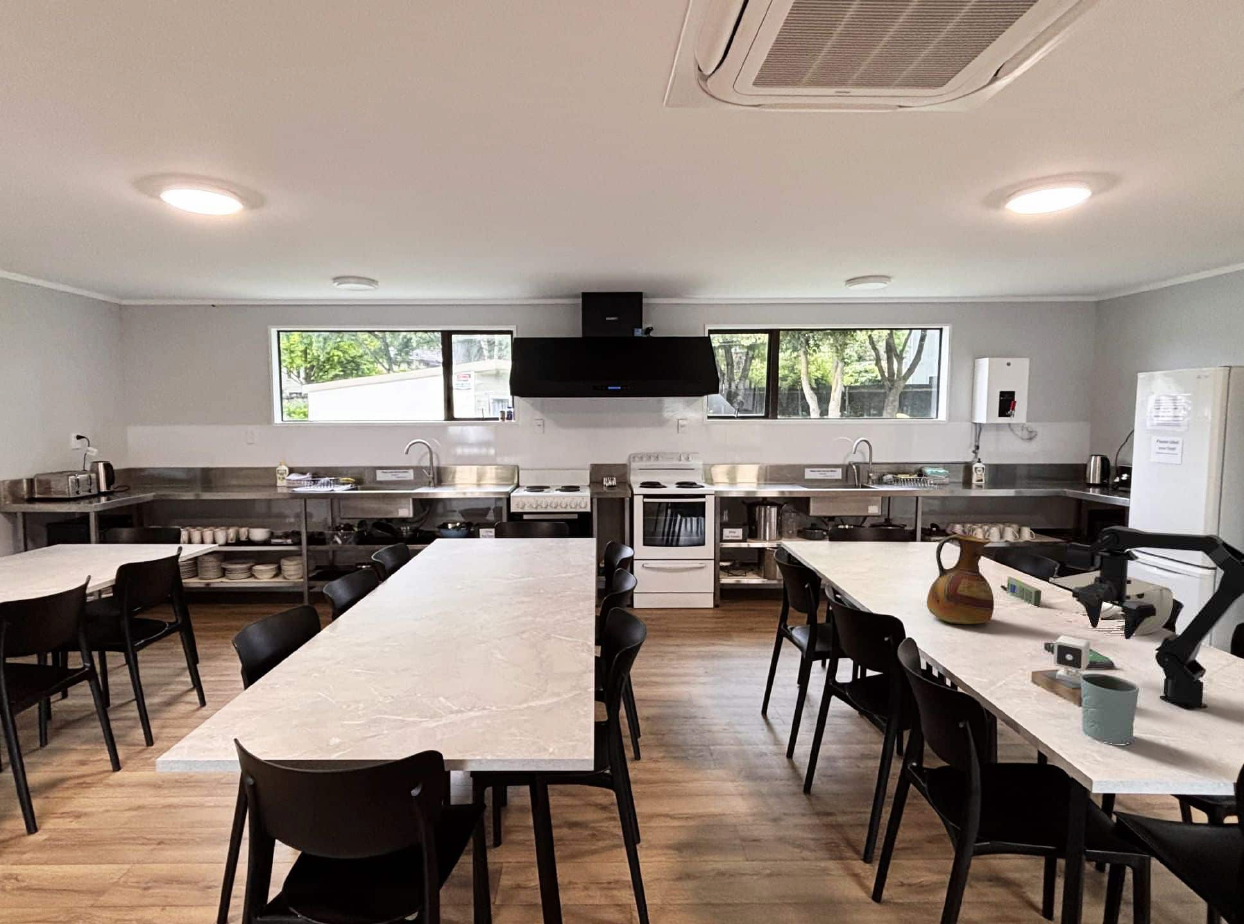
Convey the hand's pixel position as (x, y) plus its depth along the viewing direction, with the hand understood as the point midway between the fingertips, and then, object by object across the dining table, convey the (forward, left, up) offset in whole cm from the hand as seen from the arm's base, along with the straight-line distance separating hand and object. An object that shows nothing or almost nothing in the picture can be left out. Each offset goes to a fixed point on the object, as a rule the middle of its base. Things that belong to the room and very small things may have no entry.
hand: (1110, 633), depth 164 cm
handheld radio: (+73, -40, -14) cm, 85 cm away
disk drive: (+15, -6, -14) cm, 21 cm away
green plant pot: (-24, +27, -13) cm, 38 cm away
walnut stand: (-4, +16, -13) cm, 21 cm away
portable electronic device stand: (+41, -44, -13) cm, 62 cm away
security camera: (-4, +16, -10) cm, 19 cm away
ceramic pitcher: (+52, +3, -13) cm, 54 cm away
